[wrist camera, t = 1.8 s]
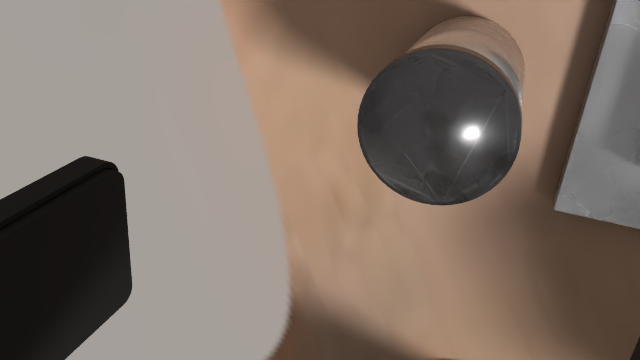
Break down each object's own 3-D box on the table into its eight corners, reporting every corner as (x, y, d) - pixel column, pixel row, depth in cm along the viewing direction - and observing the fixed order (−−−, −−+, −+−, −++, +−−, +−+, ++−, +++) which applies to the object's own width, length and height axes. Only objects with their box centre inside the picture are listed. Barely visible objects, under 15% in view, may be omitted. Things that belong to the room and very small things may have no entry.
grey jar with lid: (511, 140, 26) (500, 221, 19) (398, 118, 27) (349, 185, 20) (541, 23, 23) (540, 65, 17) (415, 5, 25) (367, 38, 18)
